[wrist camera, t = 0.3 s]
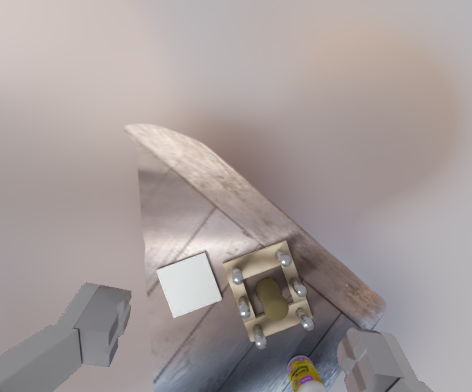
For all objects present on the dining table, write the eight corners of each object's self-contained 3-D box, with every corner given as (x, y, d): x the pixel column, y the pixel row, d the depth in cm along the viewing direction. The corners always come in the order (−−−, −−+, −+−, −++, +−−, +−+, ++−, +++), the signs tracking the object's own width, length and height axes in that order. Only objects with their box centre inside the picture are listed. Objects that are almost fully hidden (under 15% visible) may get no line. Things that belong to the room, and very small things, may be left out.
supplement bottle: (302, 348, 65) (323, 388, 52) (318, 369, 65) (342, 413, 52) (280, 365, 64) (296, 409, 52) (296, 385, 65) (315, 434, 52)
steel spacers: (310, 313, 63) (319, 326, 57) (250, 336, 63) (253, 352, 57) (286, 246, 63) (294, 252, 57) (225, 269, 62) (226, 277, 56)
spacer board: (311, 316, 65) (313, 318, 64) (250, 339, 64) (250, 342, 63) (285, 240, 64) (286, 240, 63) (222, 263, 63) (222, 264, 62)
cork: (255, 278, 63) (262, 297, 52) (280, 277, 64) (292, 295, 53) (255, 302, 64) (263, 326, 53) (280, 301, 64) (293, 325, 53)
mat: (222, 298, 63) (222, 299, 62) (174, 316, 62) (173, 317, 62) (205, 251, 62) (204, 252, 62) (156, 269, 62) (155, 270, 61)
